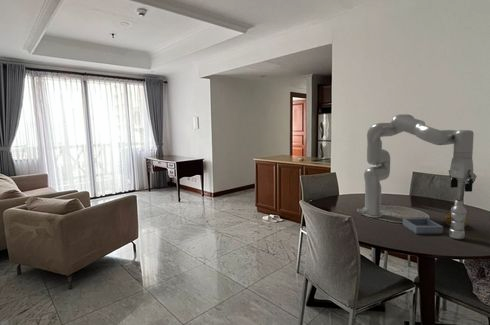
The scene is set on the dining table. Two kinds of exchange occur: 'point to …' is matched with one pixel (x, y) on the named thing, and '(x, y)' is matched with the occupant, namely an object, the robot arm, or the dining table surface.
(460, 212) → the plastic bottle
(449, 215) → the bread roll
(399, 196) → the dining table surface
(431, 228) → the tray
